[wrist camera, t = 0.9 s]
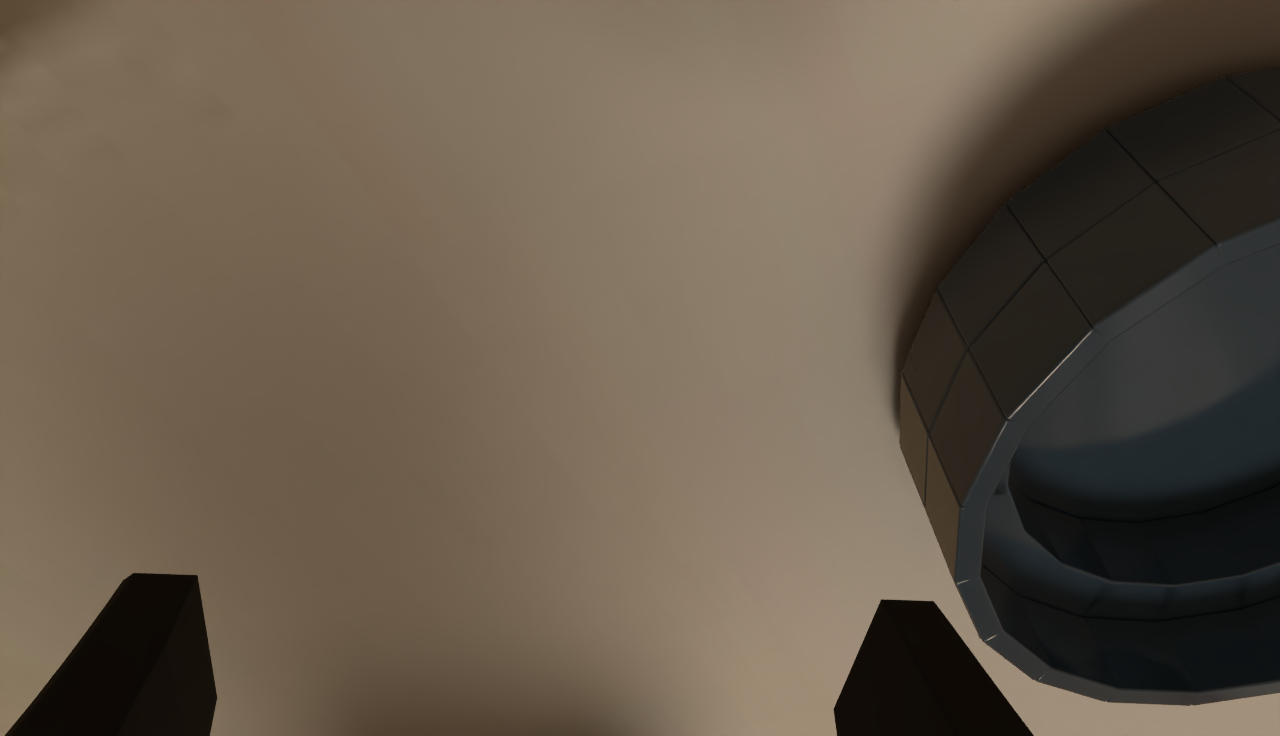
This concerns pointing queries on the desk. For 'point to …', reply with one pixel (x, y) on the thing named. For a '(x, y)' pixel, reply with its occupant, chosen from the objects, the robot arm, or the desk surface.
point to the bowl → (1118, 409)
